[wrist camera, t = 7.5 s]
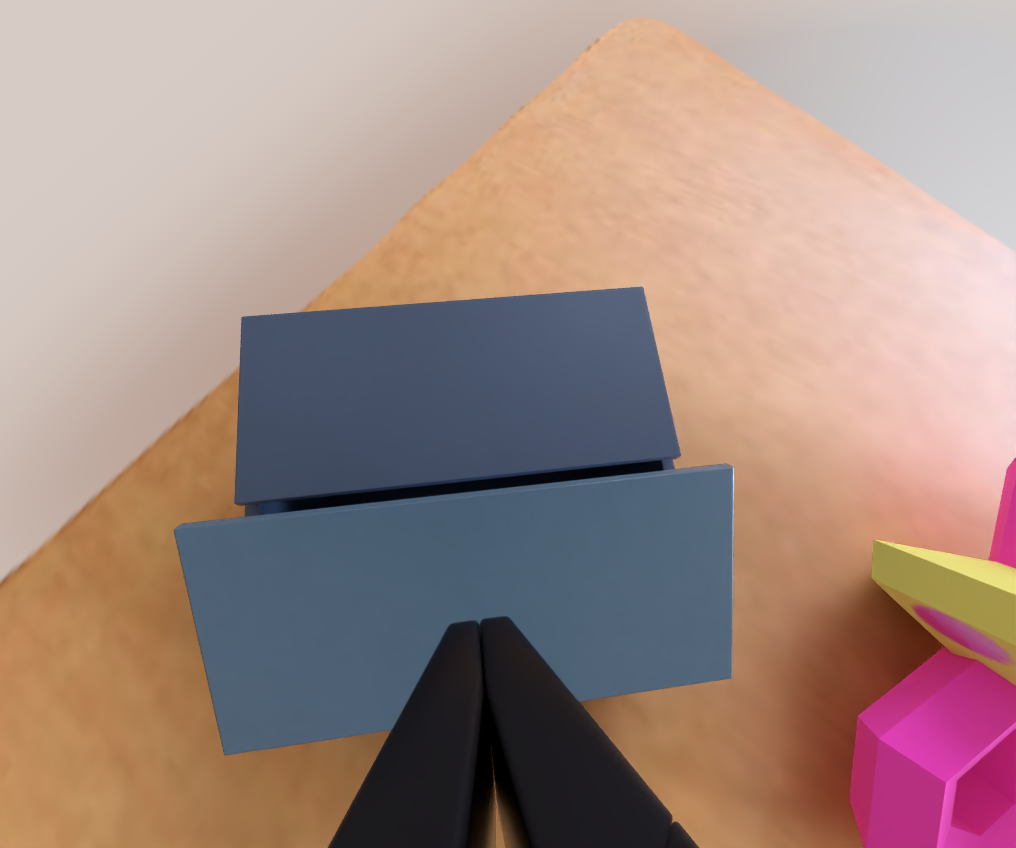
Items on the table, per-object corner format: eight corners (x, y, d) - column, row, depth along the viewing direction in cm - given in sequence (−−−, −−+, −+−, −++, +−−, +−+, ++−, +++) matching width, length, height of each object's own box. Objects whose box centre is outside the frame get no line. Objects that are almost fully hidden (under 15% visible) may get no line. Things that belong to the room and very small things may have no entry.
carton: (637, 638, 21) (734, 678, 13) (324, 682, 19) (221, 756, 12) (590, 378, 24) (644, 284, 16) (321, 402, 23) (239, 314, 15)
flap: (725, 669, 13) (732, 679, 13) (230, 744, 12) (223, 756, 12) (726, 463, 12) (734, 466, 12) (181, 523, 11) (172, 529, 10)
